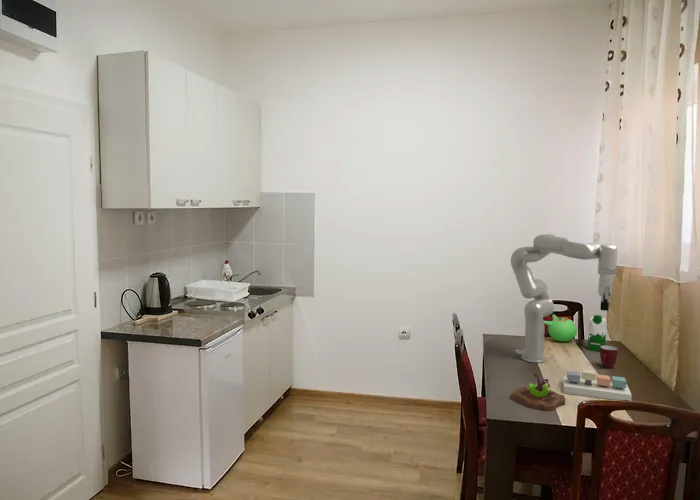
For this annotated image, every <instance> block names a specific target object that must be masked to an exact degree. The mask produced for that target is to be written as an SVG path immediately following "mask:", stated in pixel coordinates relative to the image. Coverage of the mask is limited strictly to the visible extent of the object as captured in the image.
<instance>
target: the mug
mask: <svg viewBox="0 0 700 500" xmlns="http://www.w3.org/2000/svg"><path fill="white" fill-rule="evenodd" d="M599 355H600V362H601V365H602V366H603V368H607V369H612V368H613V367H614V365H616V362H617V359H618V355H619V347H615V346H611V345H605V346H600V352H599Z"/></svg>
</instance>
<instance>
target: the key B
mask: <svg viewBox="0 0 700 500" xmlns="http://www.w3.org/2000/svg"><path fill="white" fill-rule="evenodd" d="M581 378H582V379H585V385H591V382H592V380H593V381H595V380H596V378H597V374H596V371H595V369H593V370H592V369H584V368H582V369H581Z"/></svg>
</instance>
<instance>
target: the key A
mask: <svg viewBox="0 0 700 500" xmlns="http://www.w3.org/2000/svg"><path fill="white" fill-rule="evenodd" d="M566 376H567V381H570V383H575V384H576V382H580V378H581V373H580V371H573V370H572V371H571V370H567V373H566Z"/></svg>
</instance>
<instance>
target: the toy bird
mask: <svg viewBox="0 0 700 500" xmlns="http://www.w3.org/2000/svg"><path fill="white" fill-rule="evenodd" d="M551 315H552V320H551V321H550V320H543V321H544V325H546V326H547V331H548V334H549V336H550V337H551V339H554V340H556V341H558V342H569V341H571V340H573V339H574V338H575V337H576V336H577V334H578V326H577V325H576V323H575V322H574V321H573V320H572V319H569V317H559V316H557V315H556V314H553V313H552V314H551Z"/></svg>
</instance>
